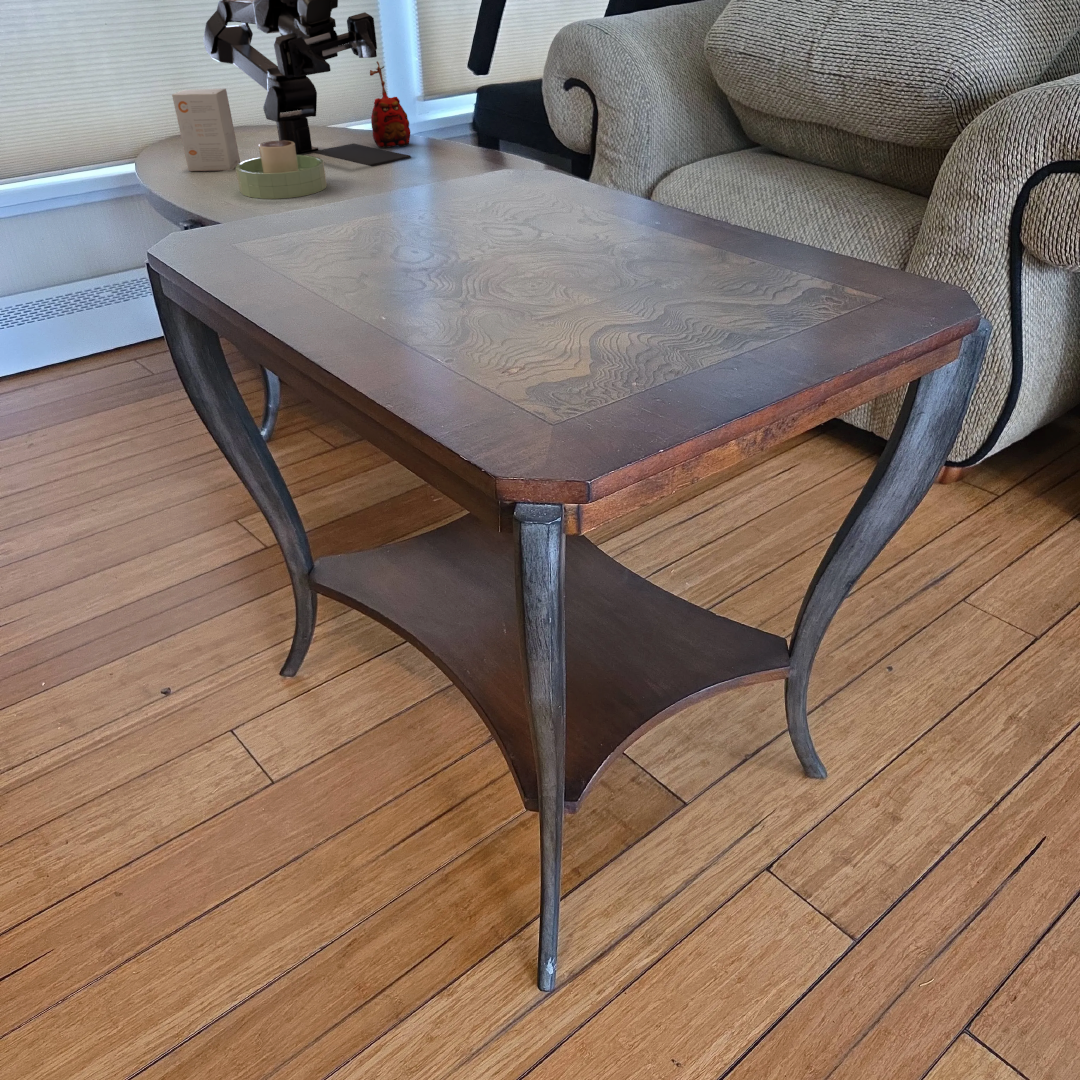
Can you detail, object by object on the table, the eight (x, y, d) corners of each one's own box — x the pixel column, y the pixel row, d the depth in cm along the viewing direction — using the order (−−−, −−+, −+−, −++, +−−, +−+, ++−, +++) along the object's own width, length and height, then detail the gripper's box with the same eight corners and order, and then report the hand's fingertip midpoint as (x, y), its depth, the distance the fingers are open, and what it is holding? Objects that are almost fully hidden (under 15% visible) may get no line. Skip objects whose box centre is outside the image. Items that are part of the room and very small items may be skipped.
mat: (295, 157, 181) (294, 154, 181) (353, 145, 189) (353, 143, 189) (351, 170, 171) (351, 168, 170) (410, 157, 179) (410, 155, 179)
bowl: (224, 193, 158) (219, 165, 156) (295, 178, 167) (291, 151, 164) (271, 207, 150) (266, 178, 147) (343, 190, 158) (340, 162, 156)
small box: (241, 163, 177) (227, 87, 170) (231, 171, 172) (216, 93, 165) (198, 164, 177) (182, 88, 170) (187, 171, 172) (171, 94, 165)
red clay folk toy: (380, 150, 185) (372, 66, 176) (367, 144, 190) (358, 62, 182) (416, 146, 188) (409, 62, 180) (402, 140, 193) (395, 59, 185)
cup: (259, 188, 158) (251, 144, 154) (288, 182, 161) (281, 138, 157) (278, 194, 154) (271, 148, 151) (308, 187, 158) (301, 143, 154)
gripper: (248, -6, 156) (295, 23, 149) (343, -31, 164) (393, -4, 157) (262, 63, 165) (307, 94, 157) (352, 36, 173) (400, 65, 165)
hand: (352, 60), depth 159 cm, fingers open, 9 cm apart
